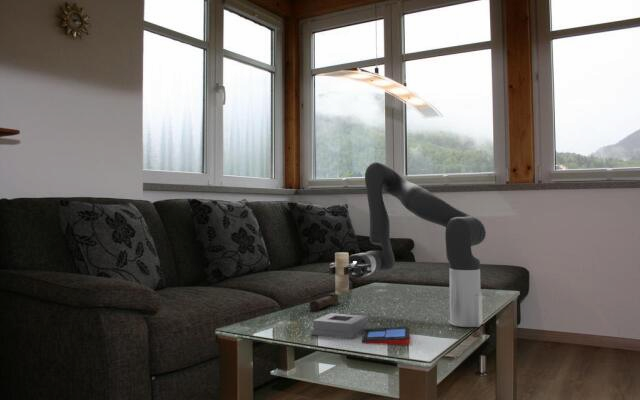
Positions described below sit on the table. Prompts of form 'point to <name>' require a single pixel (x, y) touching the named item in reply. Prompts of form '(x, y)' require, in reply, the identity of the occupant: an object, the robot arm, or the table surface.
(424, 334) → the table surface
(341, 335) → the tool holder
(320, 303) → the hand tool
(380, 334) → the game console
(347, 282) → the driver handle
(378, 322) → the table surface
